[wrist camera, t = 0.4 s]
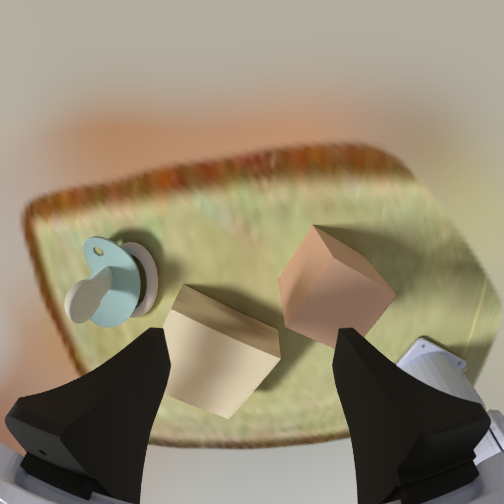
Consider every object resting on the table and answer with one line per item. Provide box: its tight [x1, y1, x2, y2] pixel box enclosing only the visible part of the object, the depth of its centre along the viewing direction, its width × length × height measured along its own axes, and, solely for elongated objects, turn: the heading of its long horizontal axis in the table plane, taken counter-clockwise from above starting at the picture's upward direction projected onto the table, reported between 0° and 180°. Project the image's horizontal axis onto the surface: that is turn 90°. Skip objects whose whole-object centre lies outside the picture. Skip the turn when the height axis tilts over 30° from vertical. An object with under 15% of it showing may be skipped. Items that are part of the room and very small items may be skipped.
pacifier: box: [65, 236, 158, 327], centre depth 18 cm, size 7×6×6 cm
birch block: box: [162, 284, 281, 419], centre depth 22 cm, size 8×8×4 cm
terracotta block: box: [278, 225, 396, 348], centre depth 18 cm, size 4×4×6 cm
